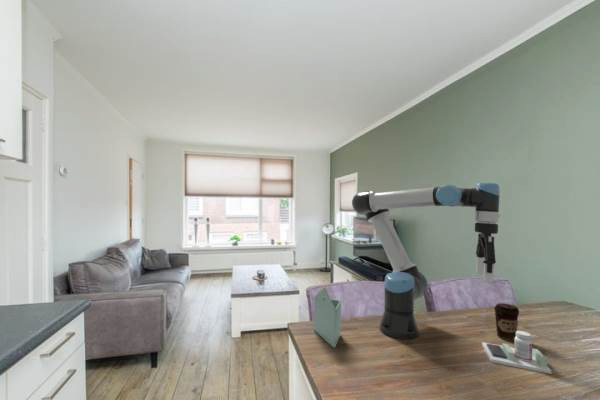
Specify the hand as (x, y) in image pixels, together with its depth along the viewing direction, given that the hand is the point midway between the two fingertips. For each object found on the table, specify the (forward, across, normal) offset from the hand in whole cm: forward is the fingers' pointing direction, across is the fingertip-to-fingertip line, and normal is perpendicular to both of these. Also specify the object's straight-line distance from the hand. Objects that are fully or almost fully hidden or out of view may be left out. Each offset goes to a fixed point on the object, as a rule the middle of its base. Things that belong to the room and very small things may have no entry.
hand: (484, 277), depth 106 cm
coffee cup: (+25, +10, -11) cm, 29 cm away
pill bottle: (+24, -9, -11) cm, 28 cm away
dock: (+25, -8, -8) cm, 28 cm away
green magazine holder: (+27, -21, +54) cm, 64 cm away
